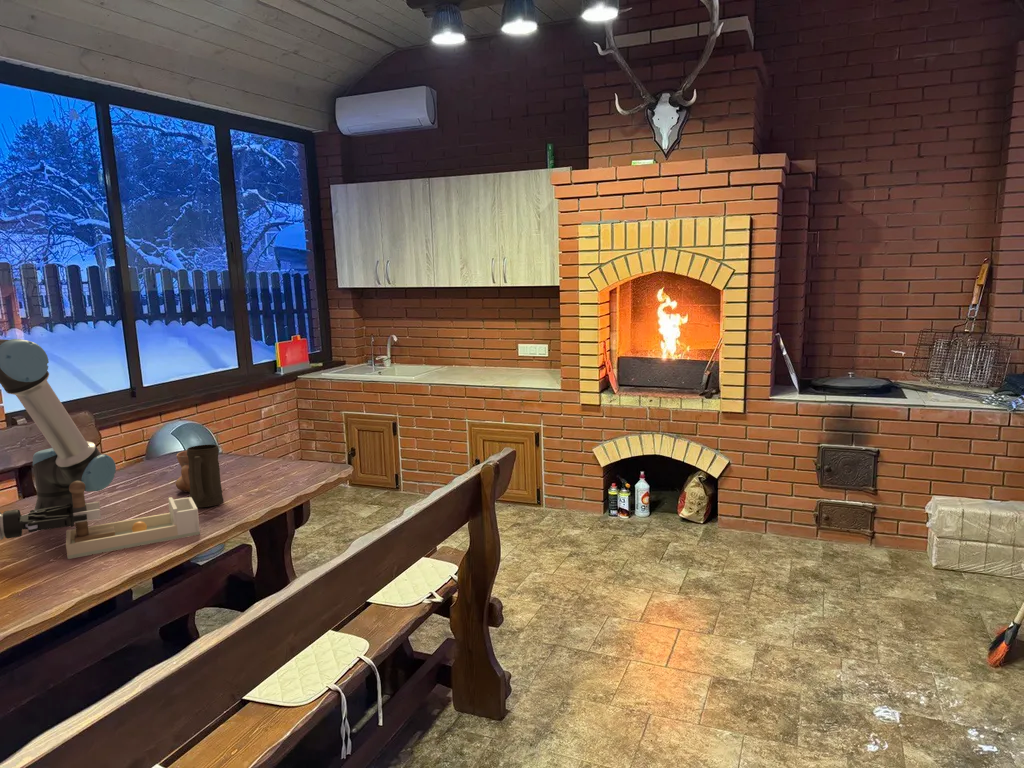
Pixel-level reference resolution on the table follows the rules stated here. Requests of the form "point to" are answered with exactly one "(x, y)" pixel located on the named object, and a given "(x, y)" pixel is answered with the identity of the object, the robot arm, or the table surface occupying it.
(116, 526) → the cream long tray
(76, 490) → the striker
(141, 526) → the ball
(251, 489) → the table surface
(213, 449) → the beer stein
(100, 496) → the table surface
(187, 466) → the ceramic jug
